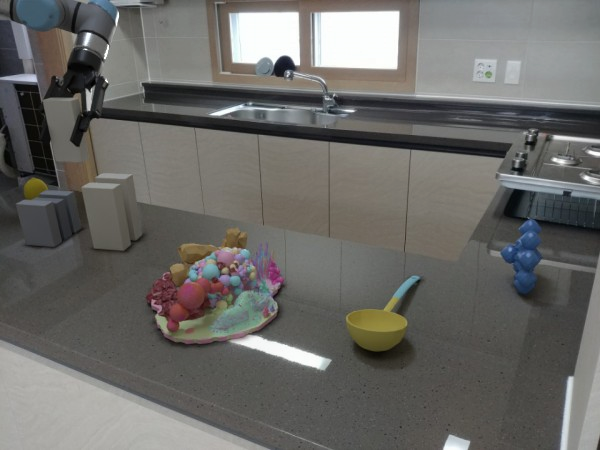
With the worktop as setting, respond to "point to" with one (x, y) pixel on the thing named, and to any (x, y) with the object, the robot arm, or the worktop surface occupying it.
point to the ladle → (379, 323)
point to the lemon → (34, 188)
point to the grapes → (524, 256)
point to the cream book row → (112, 211)
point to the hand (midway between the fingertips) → (59, 143)
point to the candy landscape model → (216, 292)
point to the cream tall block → (65, 129)
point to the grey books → (49, 218)
